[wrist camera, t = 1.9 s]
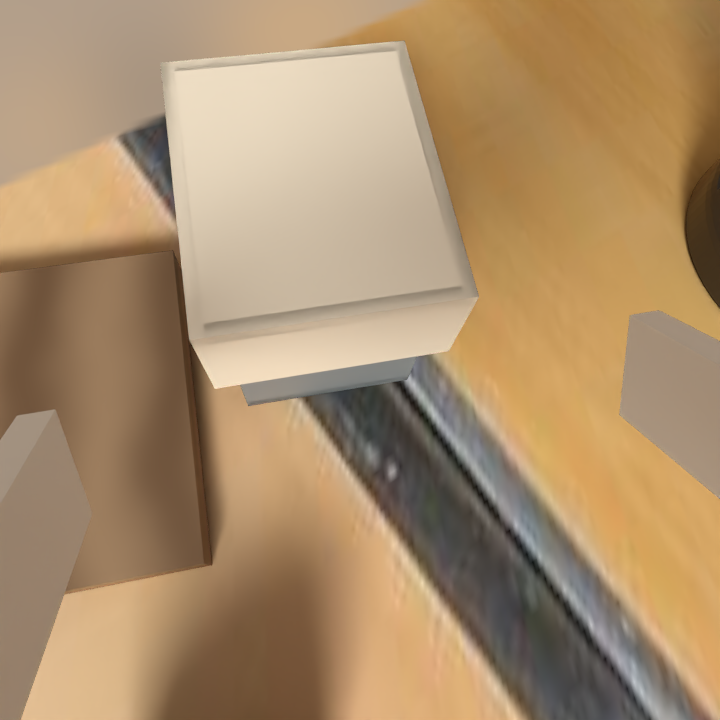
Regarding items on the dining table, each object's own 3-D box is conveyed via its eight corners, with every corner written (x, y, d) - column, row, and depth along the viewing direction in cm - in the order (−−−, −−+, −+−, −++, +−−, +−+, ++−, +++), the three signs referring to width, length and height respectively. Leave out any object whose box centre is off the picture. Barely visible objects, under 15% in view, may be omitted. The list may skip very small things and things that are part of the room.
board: (181, 270, 31) (172, 250, 30) (212, 564, 26) (203, 563, 25) (-83, 306, 30) (-110, 287, 28) (-104, 627, 25) (-139, 630, 23)
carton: (368, 213, 33) (387, 69, 24) (407, 379, 30) (446, 287, 21) (224, 231, 32) (187, 89, 23) (248, 406, 29) (214, 321, 20)
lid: (390, 129, 29) (404, 40, 24) (448, 351, 25) (478, 296, 20) (187, 151, 27) (160, 62, 23) (214, 388, 23) (189, 340, 19)
